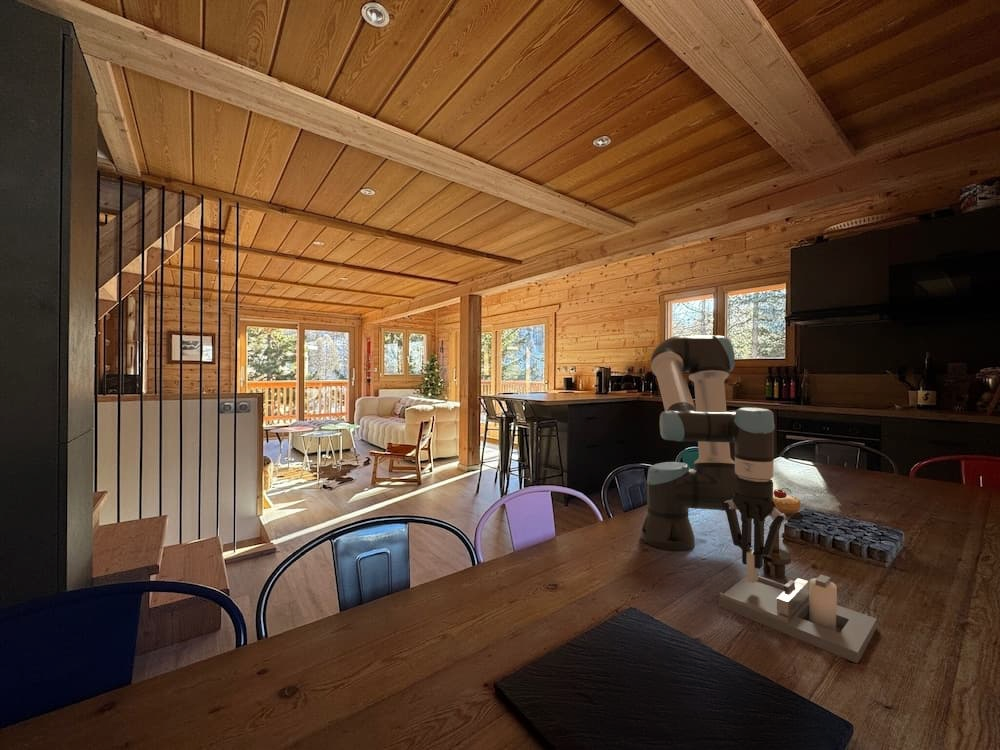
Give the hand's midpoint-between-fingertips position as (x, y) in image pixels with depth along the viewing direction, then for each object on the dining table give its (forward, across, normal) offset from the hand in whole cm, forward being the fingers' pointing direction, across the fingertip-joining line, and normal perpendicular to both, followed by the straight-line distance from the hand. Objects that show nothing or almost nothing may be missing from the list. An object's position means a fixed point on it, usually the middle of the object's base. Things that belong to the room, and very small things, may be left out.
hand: (752, 579), depth 98 cm
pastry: (+6, -17, +73) cm, 75 cm away
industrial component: (+5, -1, +17) cm, 18 cm away
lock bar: (+2, +8, -1) cm, 9 cm away
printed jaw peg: (+4, +13, -1) cm, 14 cm away
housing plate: (+4, +8, -1) cm, 10 cm away
